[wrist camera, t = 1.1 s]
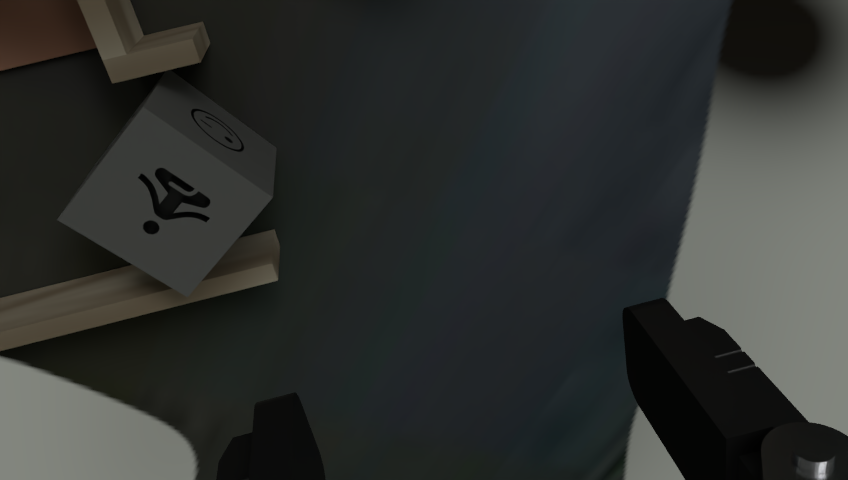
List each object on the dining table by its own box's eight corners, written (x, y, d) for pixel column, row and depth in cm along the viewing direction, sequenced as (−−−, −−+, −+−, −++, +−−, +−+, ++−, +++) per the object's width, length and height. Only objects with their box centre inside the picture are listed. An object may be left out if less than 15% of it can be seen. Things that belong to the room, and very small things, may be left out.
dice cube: (276, 147, 29) (272, 197, 25) (203, 235, 30) (187, 297, 26) (168, 67, 27) (142, 106, 23) (94, 164, 28) (57, 219, 24)
